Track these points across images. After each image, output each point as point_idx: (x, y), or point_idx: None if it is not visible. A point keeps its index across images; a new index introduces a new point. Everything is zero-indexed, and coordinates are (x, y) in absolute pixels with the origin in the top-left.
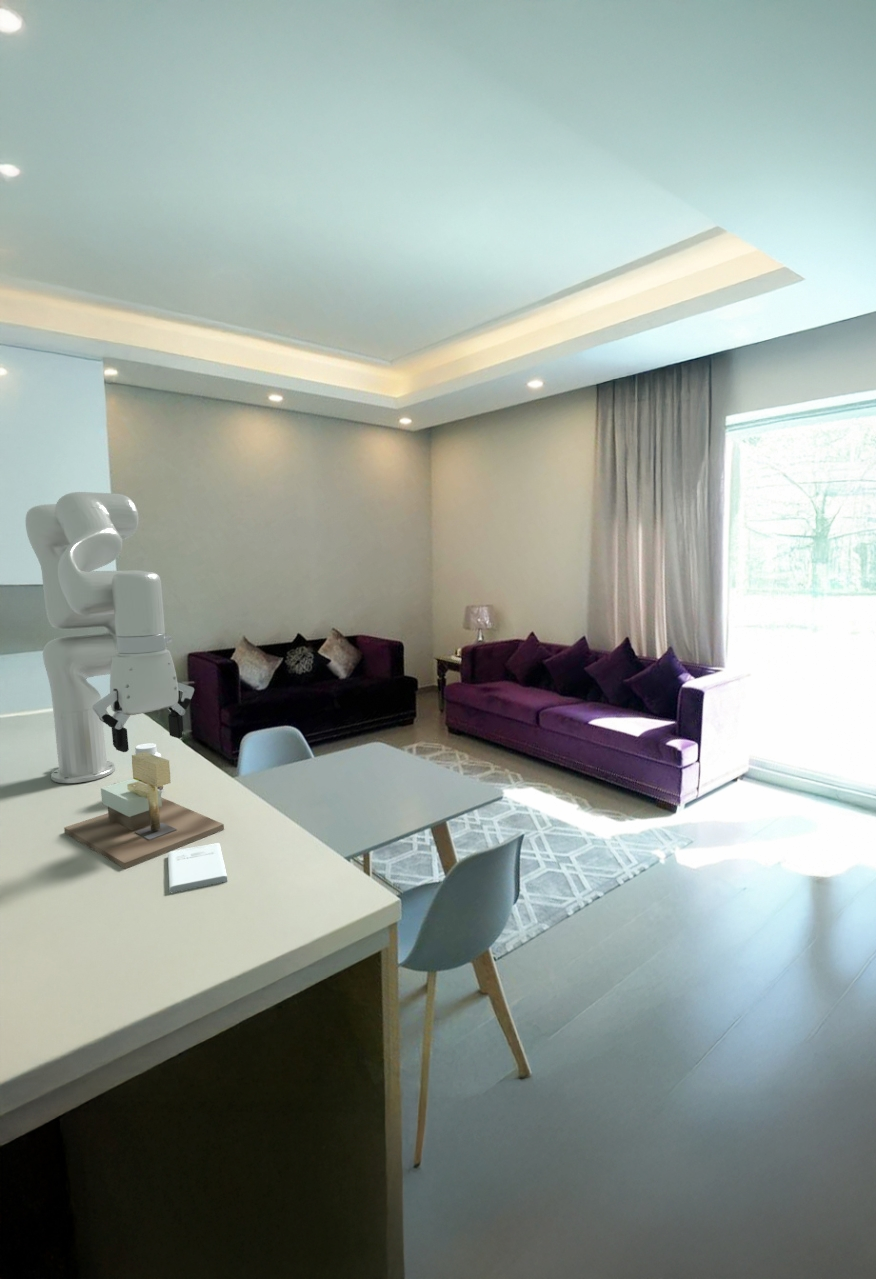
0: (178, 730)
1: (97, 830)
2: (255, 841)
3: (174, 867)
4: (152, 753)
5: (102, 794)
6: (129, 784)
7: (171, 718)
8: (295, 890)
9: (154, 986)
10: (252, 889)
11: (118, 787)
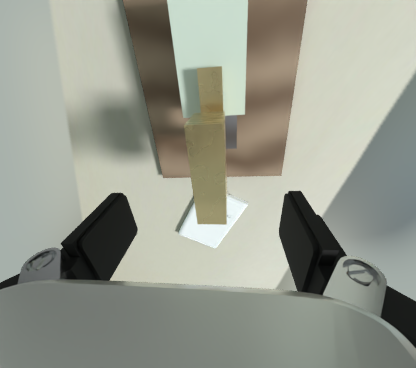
0: (286, 251)
1: (161, 54)
2: (276, 215)
3: (193, 215)
4: None
5: None
6: (200, 73)
7: (303, 259)
8: (238, 276)
9: (143, 279)
10: (221, 260)
11: (195, 14)
